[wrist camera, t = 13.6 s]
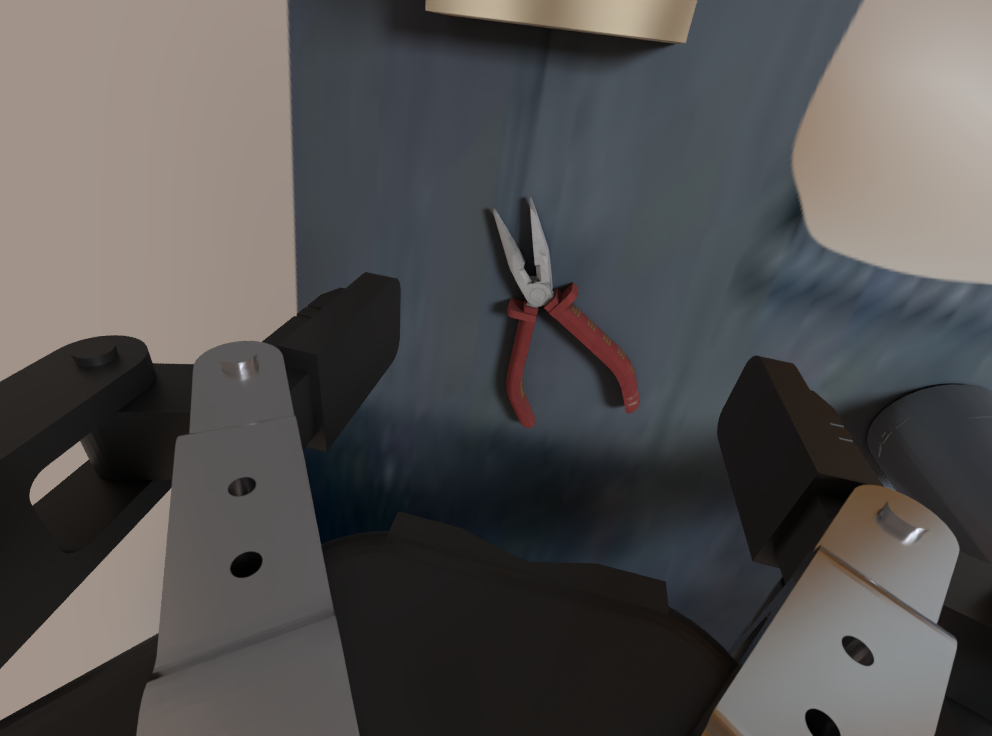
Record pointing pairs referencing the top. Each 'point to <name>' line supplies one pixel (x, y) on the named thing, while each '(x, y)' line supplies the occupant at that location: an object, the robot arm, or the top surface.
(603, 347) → the pliers
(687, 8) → the holder
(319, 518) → the top surface
